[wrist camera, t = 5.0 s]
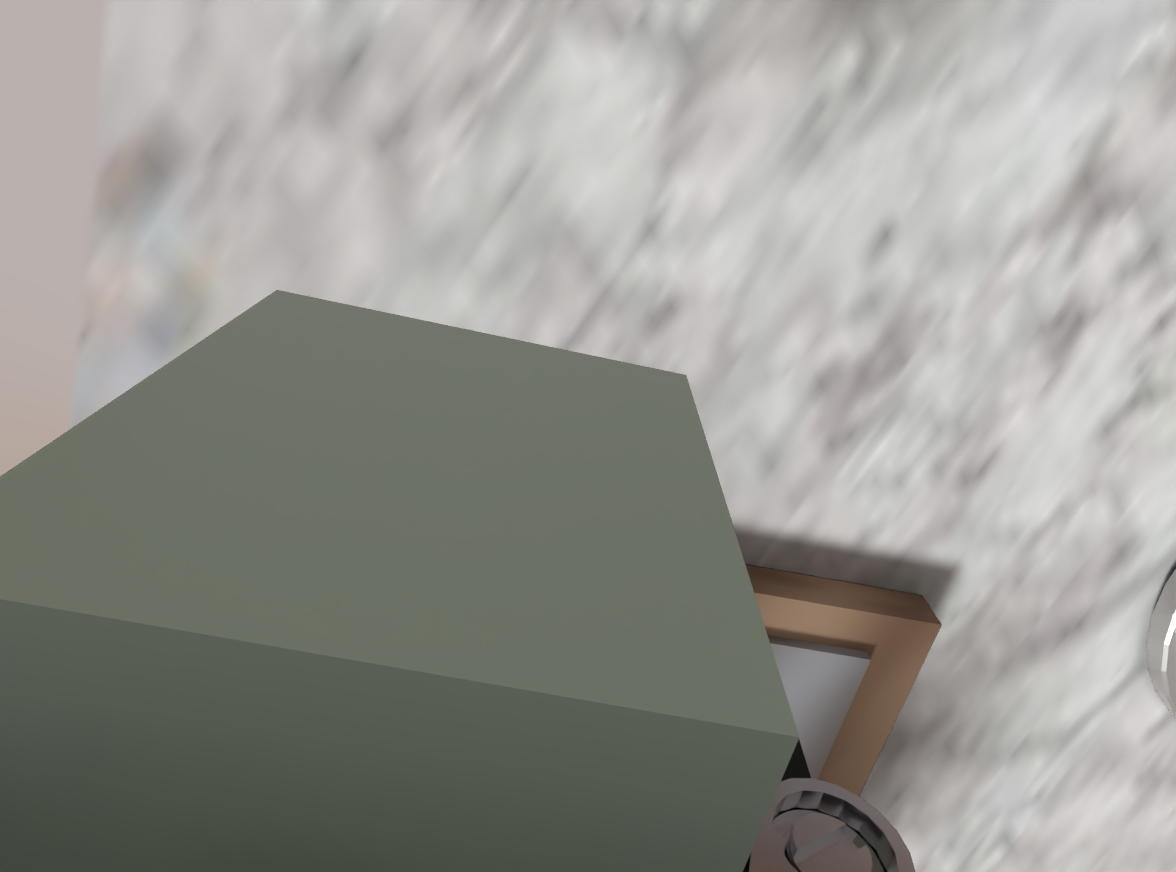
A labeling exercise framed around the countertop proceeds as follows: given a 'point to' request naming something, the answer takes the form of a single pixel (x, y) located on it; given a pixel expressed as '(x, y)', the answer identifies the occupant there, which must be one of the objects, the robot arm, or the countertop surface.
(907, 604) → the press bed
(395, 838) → the block
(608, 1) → the countertop surface
